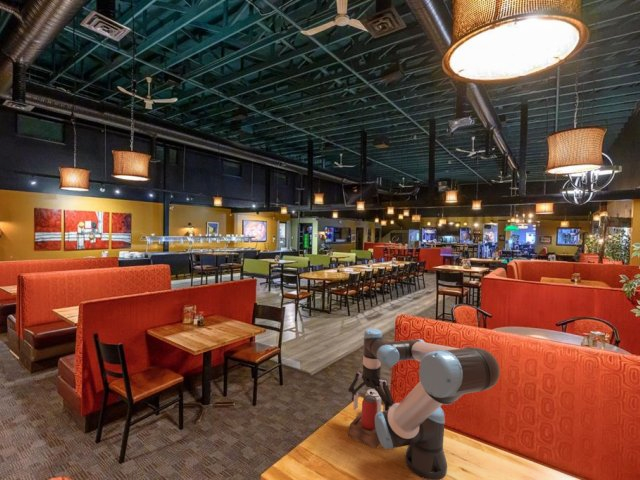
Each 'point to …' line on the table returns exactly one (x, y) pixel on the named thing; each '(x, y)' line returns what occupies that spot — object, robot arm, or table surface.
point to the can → (374, 393)
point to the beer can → (369, 412)
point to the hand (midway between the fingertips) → (369, 414)
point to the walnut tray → (363, 433)
